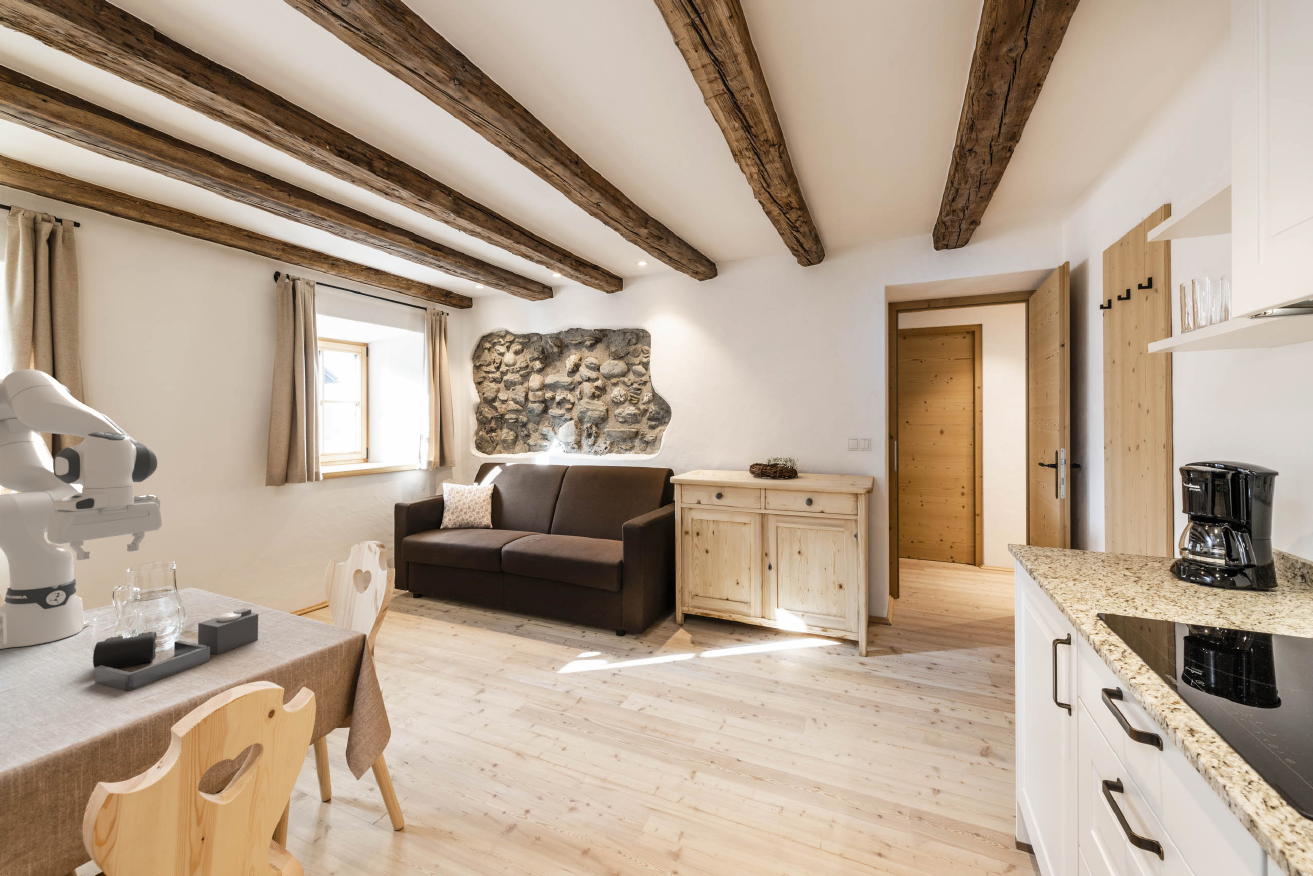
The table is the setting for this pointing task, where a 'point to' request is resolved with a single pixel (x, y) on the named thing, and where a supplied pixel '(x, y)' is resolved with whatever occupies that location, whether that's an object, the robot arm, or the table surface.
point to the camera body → (228, 631)
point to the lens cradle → (154, 667)
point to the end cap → (125, 650)
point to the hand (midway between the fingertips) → (108, 555)
